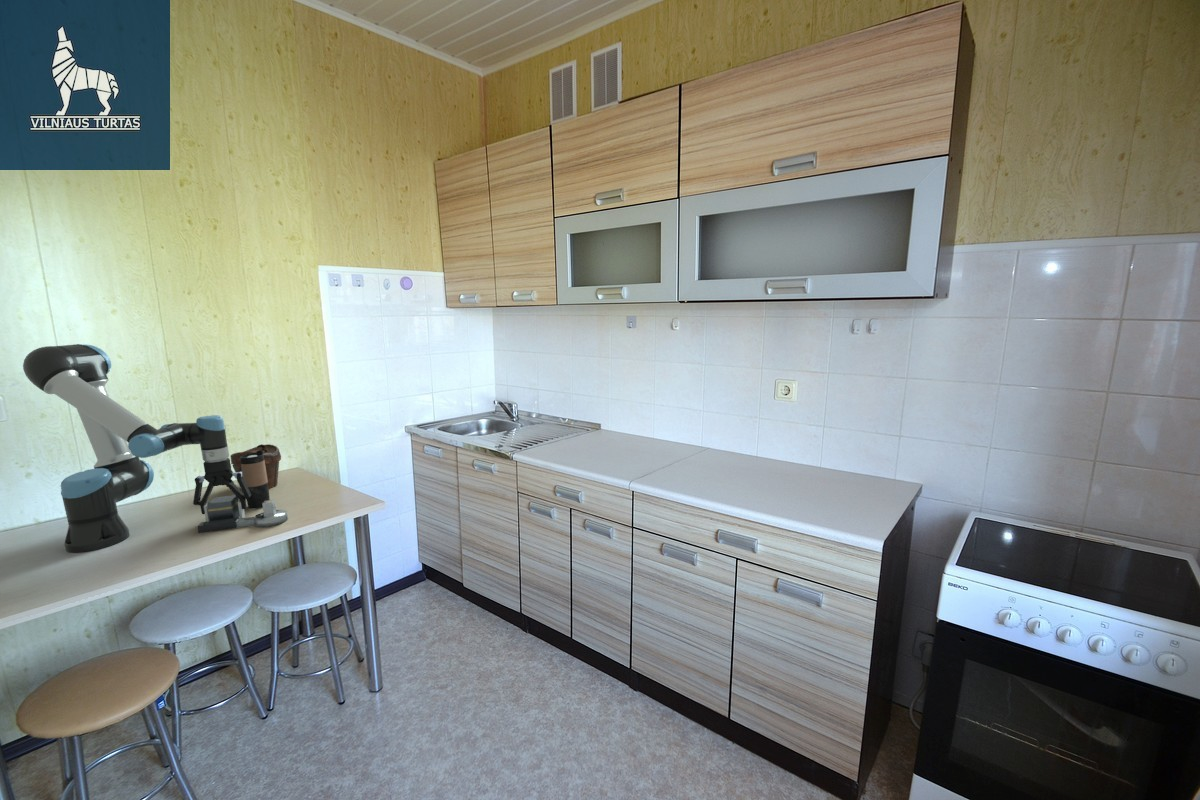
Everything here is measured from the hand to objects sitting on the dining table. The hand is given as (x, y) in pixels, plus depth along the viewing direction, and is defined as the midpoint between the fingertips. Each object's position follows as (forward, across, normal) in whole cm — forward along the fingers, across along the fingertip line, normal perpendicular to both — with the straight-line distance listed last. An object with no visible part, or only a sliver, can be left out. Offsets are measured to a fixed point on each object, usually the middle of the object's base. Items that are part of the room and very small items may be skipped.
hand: (226, 519), depth 184 cm
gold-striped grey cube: (0, 0, 0) cm, 0 cm away
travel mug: (0, +7, +13) cm, 15 cm away
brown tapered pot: (0, +1, +39) cm, 39 cm away
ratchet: (0, +8, -8) cm, 11 cm away
